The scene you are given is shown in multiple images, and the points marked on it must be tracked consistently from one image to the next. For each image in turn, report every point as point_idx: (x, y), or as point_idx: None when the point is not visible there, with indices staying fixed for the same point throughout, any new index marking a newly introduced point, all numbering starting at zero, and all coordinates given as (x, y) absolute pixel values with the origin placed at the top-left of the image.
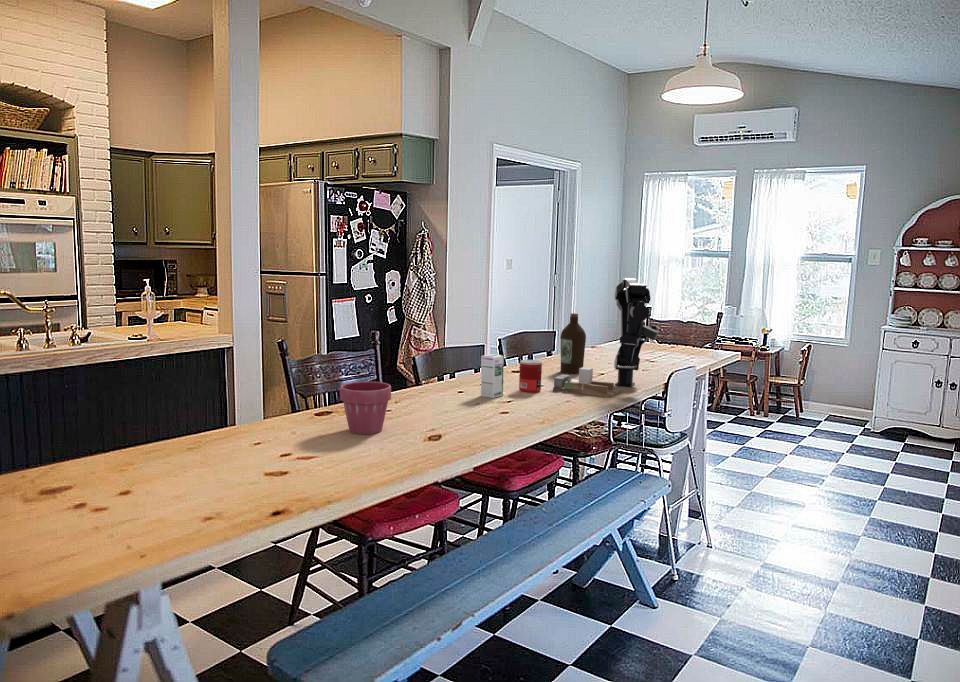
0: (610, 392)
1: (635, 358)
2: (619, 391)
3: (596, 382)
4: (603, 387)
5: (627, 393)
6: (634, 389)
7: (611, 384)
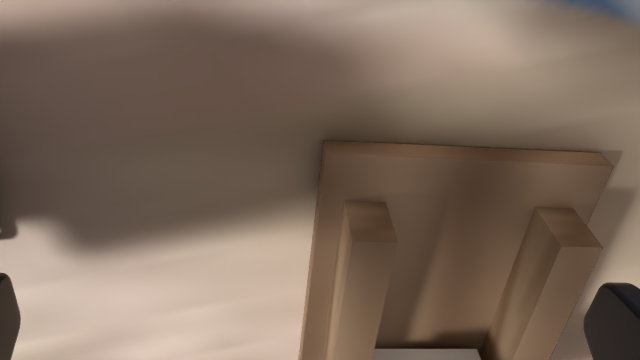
0: (509, 193)
1: (13, 315)
2: (326, 144)
3: (370, 355)
4: (586, 268)
5: (343, 61)
6: (65, 33)
7: (395, 246)
